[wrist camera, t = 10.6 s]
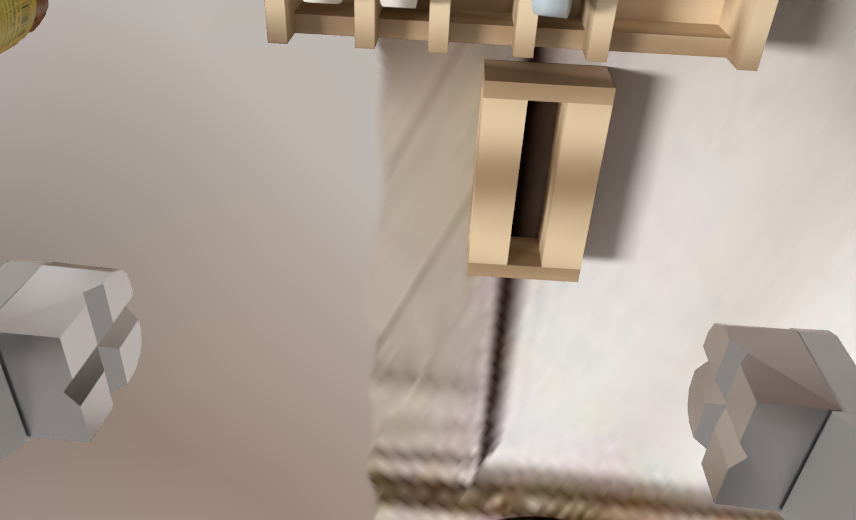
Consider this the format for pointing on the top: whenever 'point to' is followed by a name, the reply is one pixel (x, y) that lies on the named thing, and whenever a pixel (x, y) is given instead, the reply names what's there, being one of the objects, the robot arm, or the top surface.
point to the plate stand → (567, 173)
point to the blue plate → (552, 8)
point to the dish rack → (541, 25)
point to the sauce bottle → (19, 20)
